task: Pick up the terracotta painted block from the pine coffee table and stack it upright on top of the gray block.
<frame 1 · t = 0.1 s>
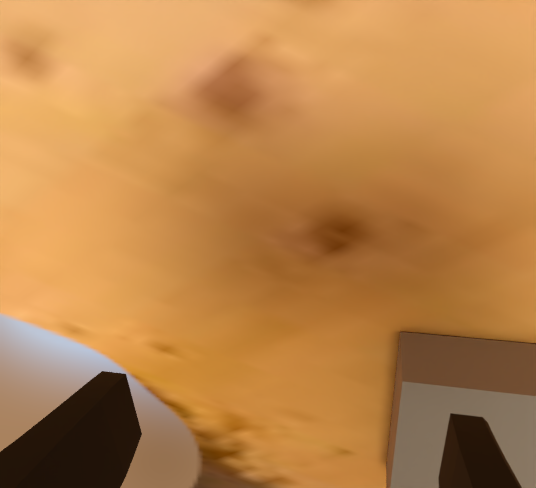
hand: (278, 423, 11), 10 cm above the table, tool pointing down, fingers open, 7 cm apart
gray block: (492, 416, 22), on the table
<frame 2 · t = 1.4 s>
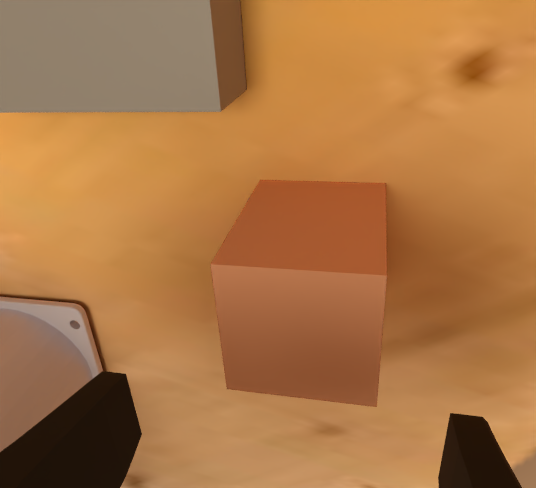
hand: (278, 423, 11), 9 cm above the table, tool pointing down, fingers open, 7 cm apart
terracotta block: (321, 236, 18), on the table
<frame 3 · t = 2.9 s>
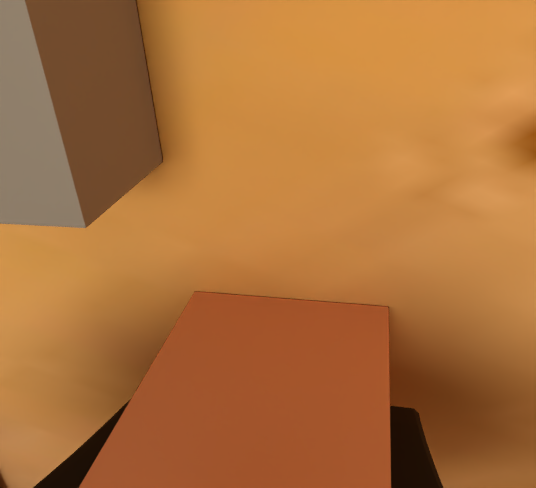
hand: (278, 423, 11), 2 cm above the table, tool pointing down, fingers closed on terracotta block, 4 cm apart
terracotta block: (290, 371, 12), on the table, touching gripper
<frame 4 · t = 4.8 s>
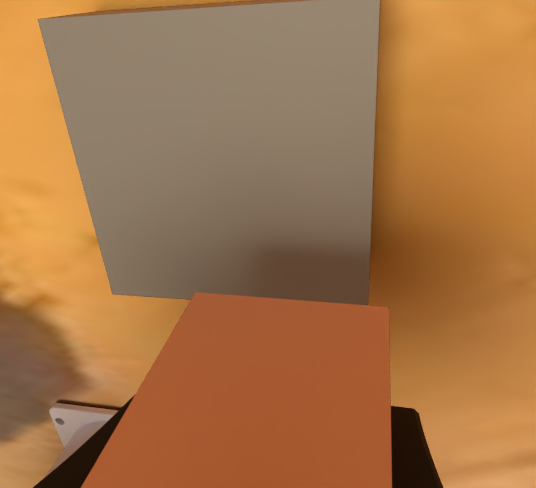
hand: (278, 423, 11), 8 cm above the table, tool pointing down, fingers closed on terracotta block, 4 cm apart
gray block: (242, 146, 17), on the table
terracotta block: (291, 372, 12), point 7 cm above the table, touching gripper
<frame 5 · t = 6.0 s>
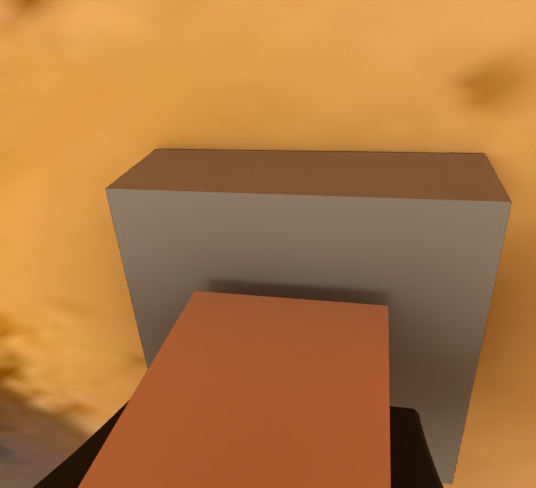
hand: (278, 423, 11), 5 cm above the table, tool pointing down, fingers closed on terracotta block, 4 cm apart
gray block: (310, 287, 15), on the table
terracotta block: (290, 371, 12), point 4 cm above the table, touching gripper
when the fingers open (5 cm above the table, at t = 6.7 s): terracotta block stays where it is, resting on gray block.
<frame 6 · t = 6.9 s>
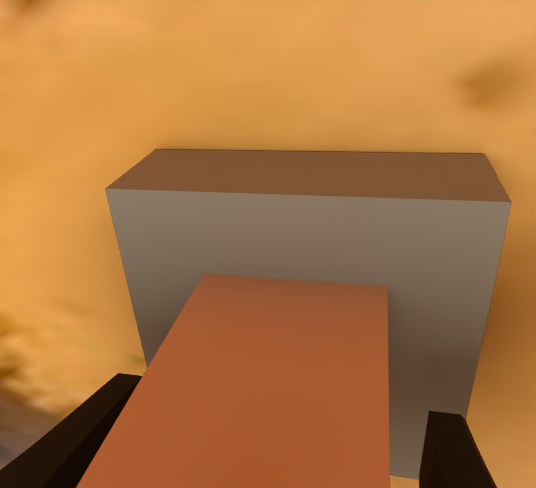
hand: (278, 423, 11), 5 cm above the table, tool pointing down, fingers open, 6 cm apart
gray block: (310, 287, 15), on the table
terracotta block: (294, 350, 13), point 3 cm above the table, touching gray block
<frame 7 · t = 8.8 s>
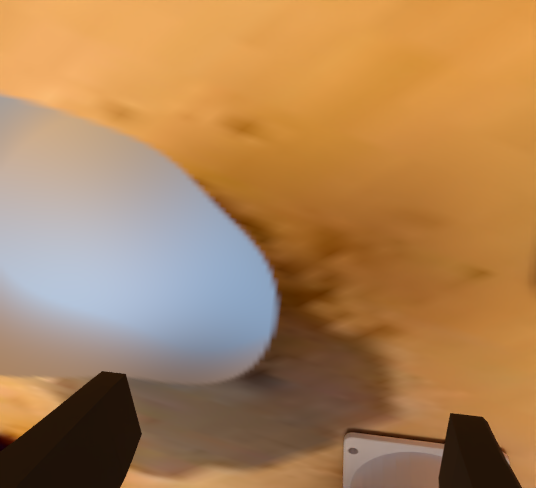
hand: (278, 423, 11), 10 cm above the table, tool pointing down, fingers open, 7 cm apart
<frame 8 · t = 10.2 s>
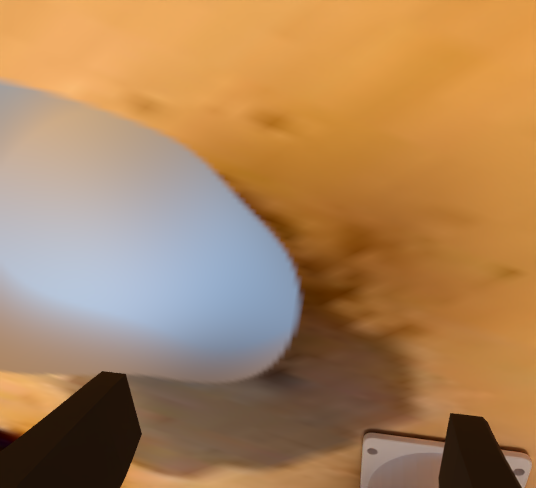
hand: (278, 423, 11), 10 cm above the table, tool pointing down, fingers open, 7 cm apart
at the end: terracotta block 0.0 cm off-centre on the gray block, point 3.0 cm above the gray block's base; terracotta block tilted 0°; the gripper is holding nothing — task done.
